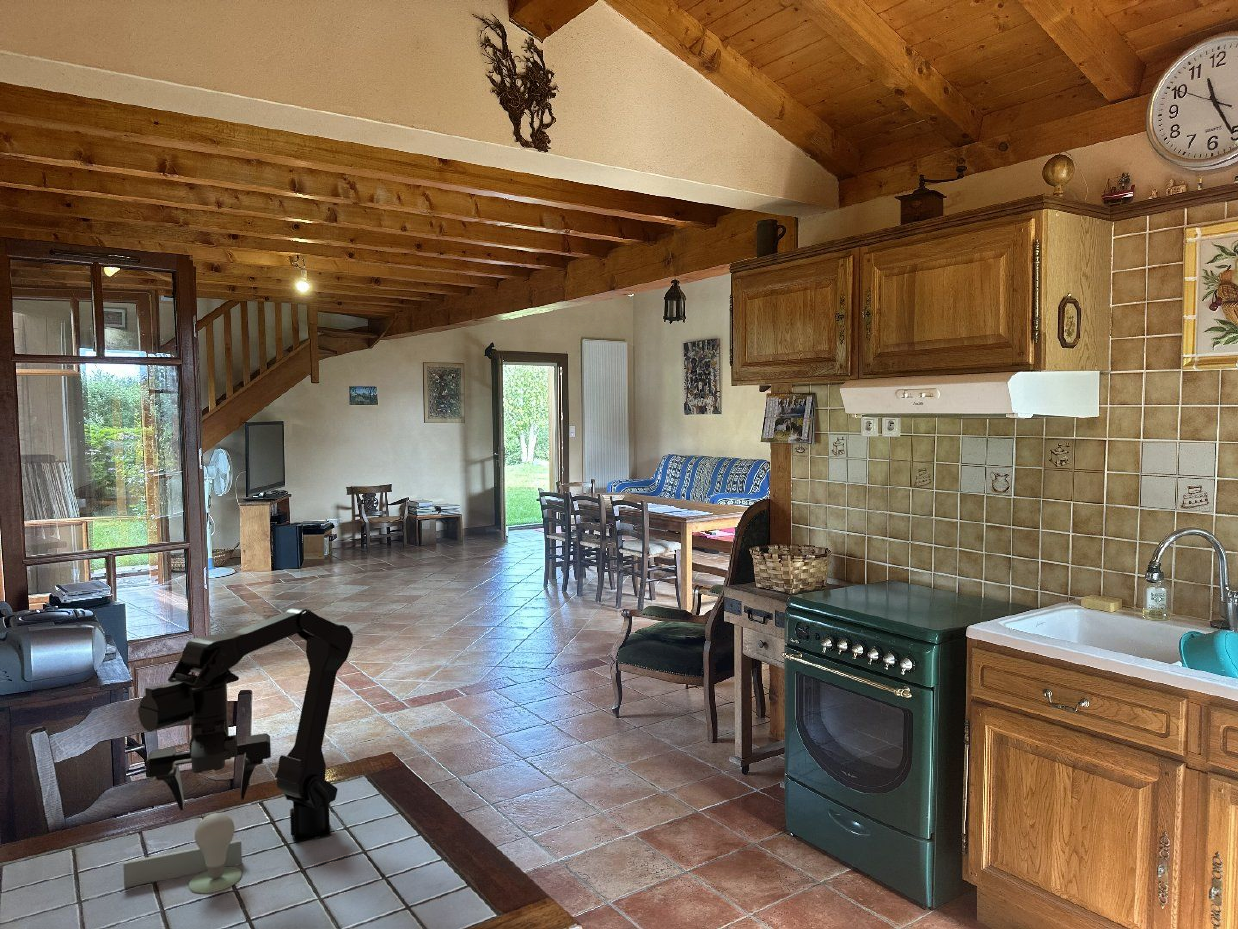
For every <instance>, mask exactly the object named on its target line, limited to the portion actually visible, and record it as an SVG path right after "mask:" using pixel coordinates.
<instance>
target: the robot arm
mask: <svg viewBox="0 0 1238 929" xmlns="http://www.w3.org/2000/svg"><path fill="white" fill-rule="evenodd" d="M293 635H296V636H297V637H298V638H300V639H302V640H304V641H305V642H306V645H305V647H306V648H305V655H306V658H307V661H308V666H309V673H308V679H307V683H306V688H305V693H304V697H303V701H302V702H303V703H302V707H301V712H300V717H299V722H298V726H297V732H296V736H295V741H294V744H293V747H292V749H290V751H289V752H288V753H287V755H284V754H281V755H280V757H279V759H278V768H277V770H276V773H275V775H274V778H276V787H277V788H278V789H279V791H280V792H281V793H282V794H283V795H284V797H285V799H286V800H287V801H291V802H292V808H290V809H289V818H290V819H289V821H290V822H289V824H290V836H293V842H294V843H299V842H304V841H309V840H315V839H319V838H320V839H321V838H325V837H328V836H332V829H331V824H330V818H331V817H330V803H332V802H334V801H336V798H337V795H338V791H339V789H338V788H337V787H336V786H335V785H333V784H332V783H330V782H329V781H327V780H326V773H327V772H326V771H327V764H326V761H325V757H324V753H323V749H322V748H323V744H324V739H325V738H324V737H325V733H326V729H327V722H328V718H329V714H330V713H329V712H330V707H331V703H332V698H333V693H334V688H335V683H336V678H337V673H338V671H339V670H340V668H341V667H342V666H343V665H344V664H345V662H346V661H347V660H348V657H349V654H350V651H351V648H352V646H353V642H354V634H353V632H352V631H351V629H350V628H349V627H348V626H347V625H344V624H338V623H334V622H333V621H330V620H328V619H326V618H323V617H322V616H320V615H318V614H316V613H314V612H313V611H312V610H310V609H308V608H298V607H291V608H289V609H288V610H286V611H284V612H283V613H282V612H281V613H279V614H277V615H274V616H271V617H269V618H266V619H264V620H261V621H258V622H256V623H253V624H250V625H247V626H246V627H243V628H240V629H238V630H235V631H232V632H231V631H230V632H225V633H215V634H209V635H204V636H198V637H195V638H193V639H192V638H191V639H190V640H188V642H186V644H185V647H184V648H183V651H182V654H181V657H180V658H179V660H178V662H177V664H176V666H175V667H174V669H173V671H172V672H171V674H170V675H169V677H168V679H167V682H168V683H164V684H161V685H153V686H148V687H146V688H145V689H144V694H145V695H144V696H143V697H142V698H141V700H140V702H139V706H138V708H137V712H138V718H139V722H140V725H141V726H142V728H143V729H144V730H145V731H147V732H154V731H158V730H162V729H165V728H167V727H171V726H175V725H176V724H180V723H183V722H186V721H188V720H189V719H190V723H189V724H190V741H189V750H188V751H187V750H186V751H182V752H177V749H176V746H171V747H163V748H158V749H152V751H150V752H149V753H148V756H147V759H146V761H145V775H146V776H145V777H146V778H155V780H156V781H163V782H164V783H165V784H166V785H167V786H168V788H169V789H170V791H171V793H172V795H173V797H174V799H175V801H176V804H177V806H178V808H179V809H180V811H181V812H182V811H184V809H185V808H184V807H185V805H184V804H185V803H184V802H185V801H184V791H183V786H182V779H181V771H180V766H181V765H187V764H191V771H192V772H193V773H194V774H201V773H203V772H208V771H220V770H222V769H223V768H225V766H226V761H228V760H231V759H233V758H237V757H238V756H242V755H243V756H244V757H243V766H242V767H243V768H242V775H241V784H240V800H241V801H244V799H245V796H246V793H247V790H248V787H249V784H250V781H251V780H250V779H251V777H252V774H253V772H254V771H255V768H256V767H257V766H258V765H261V764H263V762H264V760H267V759H270V758H272V752H271V750H272V749H271V746H272V745H271V736H270V735H269V734H268V733H267V732H266V733H258V734H251V735H245V742H242V743H241V742H239V743H238V736H237V734H233V735H229V734H230V733H229V712H228V711H229V709H228V707H229V705H228V687H227V686H228V685H227V684H231V683H234V682H238V681H239V680H240V677H239V676H238V675H236V674H235V673H233V672H232V671H231V670H230V669H232V668H233V667H235V666H237V665H238V663H240V661H242V659H243V658H244V657H245V656H247V655H249V654H251V653H254V652H255V651H258V650H260V649H263V648H265V647H267V646H271V645H273V644H274V643H276V642H280V641H282V640H284V639H287V638H289V637H292V636H293ZM191 672H192V673H197V675H195V674H192V673H191ZM190 673H191V674H190Z"/></svg>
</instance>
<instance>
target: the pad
mask: <svg viewBox="0 0 1238 929" xmlns="http://www.w3.org/2000/svg"><path fill="white" fill-rule="evenodd" d="M207 872H208V871H204V872H199V873H198V874H197V875H195V876H194V877H193V878H192V879H191V880H189V883H188V889H189V891H191V892H193V893H196V894H211V893H215V892H220V891H224V890H226V889H228V888H230V887H232V886H234V885H235V884H237V883H238V882H239V881H240V880H241V878H242V870H241V869H239V868H238V867H233V866H229V867H224V874H223V875H222V876H220V877H219V878H218V879H213V878H209V877H208V873H207Z"/></svg>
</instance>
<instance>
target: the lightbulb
mask: <svg viewBox="0 0 1238 929" xmlns="http://www.w3.org/2000/svg"><path fill="white" fill-rule="evenodd" d="M235 828H236V826H235V823H234V821H233V819H232V818H231V817H230V816H229V815H227V814H226V813H222V812H214V813H211V814H208V815H206V816H205V817H204V818H202V819H201V820H200V821H199V823H198V824H197V826H196V828H195V831H194V840H195V843H196V845H197V848H200V850H201V851H202V853H203V855H204V858H205V864H206V866H207V871H208V872H207V873H208V877H209V878H213V879H218V878H219V877H220V876H222V875H223V874H224V866H225V865H224V863H225V861H226V853H227V849H228V846H229V844H230V842H231V841H233V838H234V835H235V830H236V829H235Z"/></svg>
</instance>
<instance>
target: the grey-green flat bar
mask: <svg viewBox="0 0 1238 929" xmlns="http://www.w3.org/2000/svg"><path fill="white" fill-rule="evenodd" d="M242 864H243V852H242V839H237V840H231V842H230V844H229V846H228V849H227V853H226V861H225V863H224V865H225V866H224V867H233V866H239V865H242ZM122 866H123V868H122V869H123V887H124V888H125V889H126V888H128V887H129V888H130V887H134V886H138V885H143V884H148V883H154V882H158V881H162V880H163V881H164V880H168V879H174V878H179V877H183V876H188V875H194V874H200V873H203V872H205V871H207V866H206V864H205V858H204V855H203V853H202V851H201V850H200V848H199V847H196V848H195V847H194V848H189V849H186V850H178V851H174V852H169V853H164V854H159V855H158V854H157V855H152V856H148V857H142V858H137V859H133V860H132V859H131V860H127V861H124V862H123V865H122Z"/></svg>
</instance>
